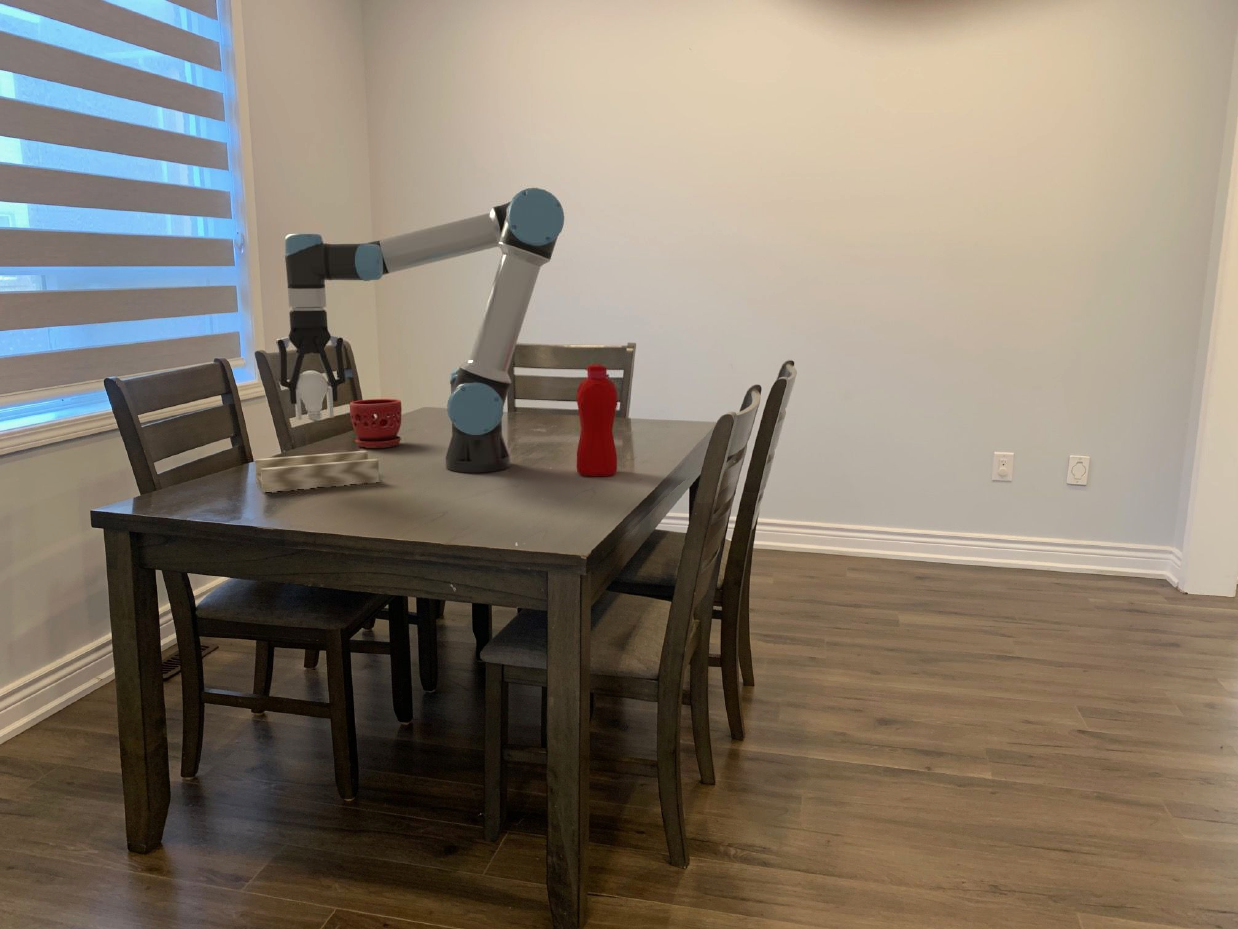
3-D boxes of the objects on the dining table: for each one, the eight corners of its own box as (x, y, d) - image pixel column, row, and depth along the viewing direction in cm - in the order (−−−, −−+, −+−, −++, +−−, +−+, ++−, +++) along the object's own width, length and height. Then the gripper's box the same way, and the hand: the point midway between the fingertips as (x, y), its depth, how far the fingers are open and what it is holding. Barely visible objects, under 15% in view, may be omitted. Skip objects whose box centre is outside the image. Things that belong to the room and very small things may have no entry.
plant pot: (410, 442, 256) (408, 398, 253) (390, 451, 243) (388, 404, 241) (365, 440, 258) (362, 396, 255) (343, 449, 245) (340, 403, 243)
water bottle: (625, 477, 215) (626, 366, 210) (577, 477, 214) (577, 366, 209) (622, 469, 224) (623, 362, 219) (576, 469, 223) (576, 362, 218)
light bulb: (293, 422, 205) (287, 371, 202) (321, 417, 209) (315, 367, 207) (309, 425, 200) (303, 373, 198) (337, 420, 205) (332, 369, 202)
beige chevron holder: (366, 471, 218) (365, 450, 217) (379, 482, 208) (378, 460, 207) (256, 481, 207) (254, 459, 206) (263, 493, 197) (261, 469, 196)
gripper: (349, 307, 207) (355, 412, 212) (257, 309, 199) (266, 418, 204) (357, 308, 201) (363, 417, 206) (262, 310, 192) (271, 423, 197)
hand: (315, 417), depth 205 cm, fingers closed on light bulb, 6 cm apart
